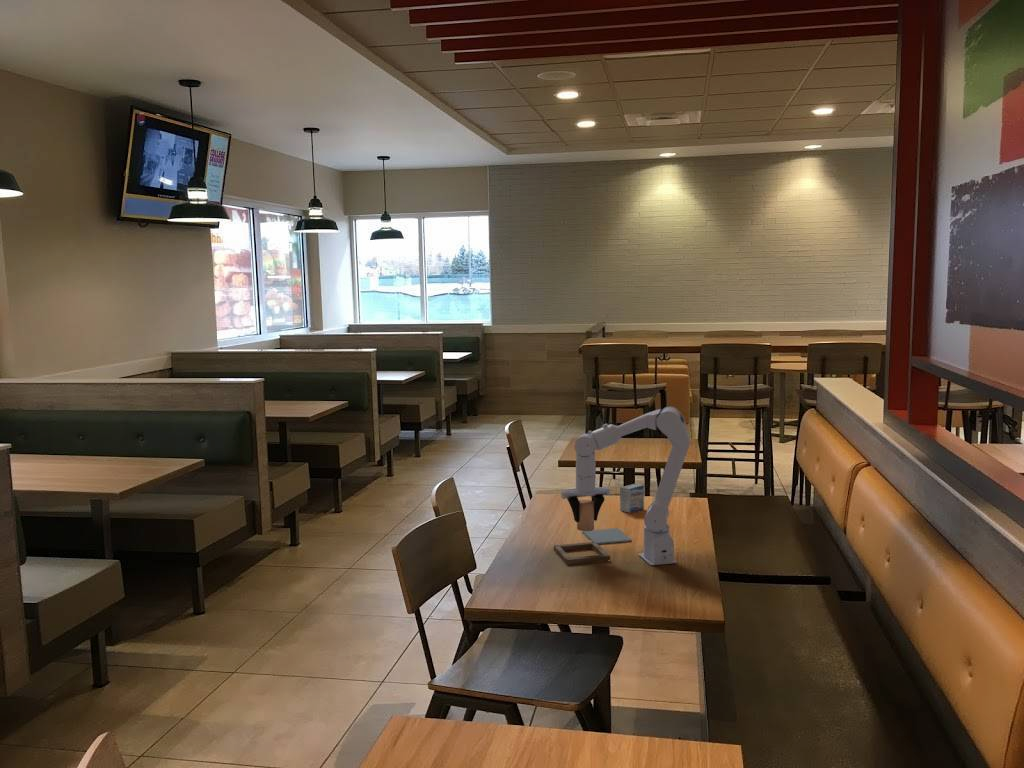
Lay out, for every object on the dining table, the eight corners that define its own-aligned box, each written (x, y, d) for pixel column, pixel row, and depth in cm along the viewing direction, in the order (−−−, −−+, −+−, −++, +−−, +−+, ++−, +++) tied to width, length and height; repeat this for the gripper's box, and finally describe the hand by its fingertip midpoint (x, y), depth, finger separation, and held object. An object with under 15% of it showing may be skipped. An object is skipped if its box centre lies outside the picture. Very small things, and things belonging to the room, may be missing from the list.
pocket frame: (610, 560, 234) (610, 555, 234) (567, 565, 231) (567, 559, 231) (595, 546, 247) (595, 541, 247) (553, 550, 244) (553, 545, 244)
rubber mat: (631, 541, 251) (631, 539, 251) (594, 544, 248) (594, 542, 248) (617, 529, 263) (617, 528, 263) (582, 532, 260) (582, 531, 260)
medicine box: (629, 513, 281) (629, 489, 280) (619, 510, 284) (619, 486, 283) (644, 509, 286) (644, 485, 285) (634, 506, 289) (634, 482, 288)
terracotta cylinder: (596, 530, 239) (596, 503, 238) (580, 531, 237) (580, 505, 236) (590, 525, 243) (590, 499, 242) (574, 526, 242) (574, 500, 241)
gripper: (566, 480, 233) (566, 526, 235) (614, 476, 236) (613, 522, 238) (558, 474, 240) (558, 519, 241) (605, 471, 243) (605, 515, 245)
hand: (585, 520), depth 240 cm, fingers closed on terracotta cylinder, 5 cm apart
